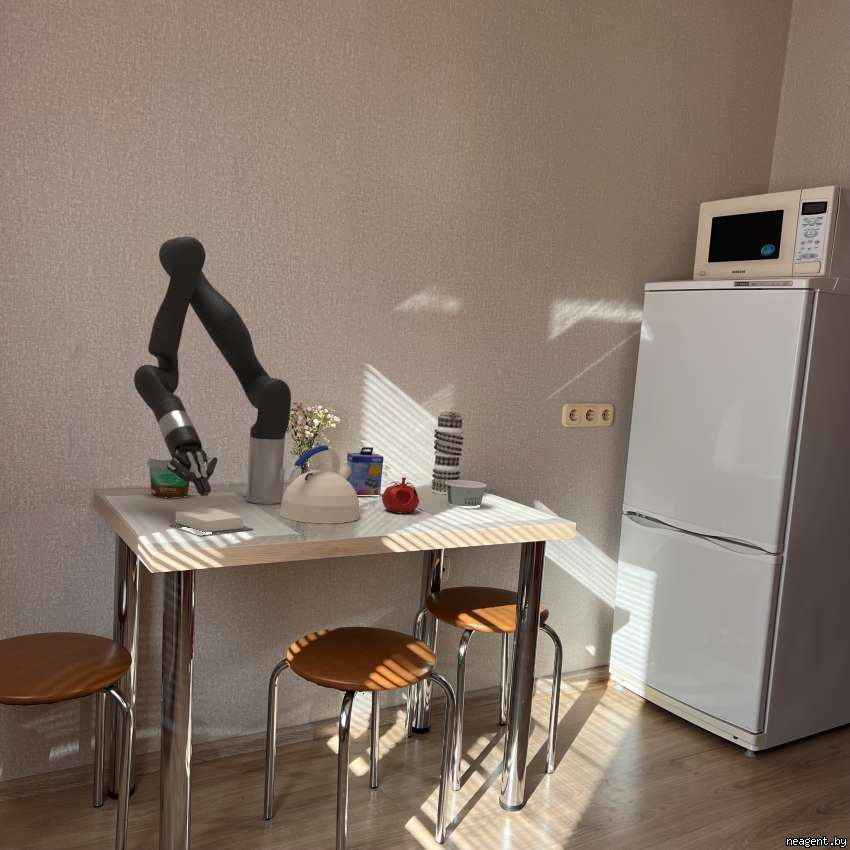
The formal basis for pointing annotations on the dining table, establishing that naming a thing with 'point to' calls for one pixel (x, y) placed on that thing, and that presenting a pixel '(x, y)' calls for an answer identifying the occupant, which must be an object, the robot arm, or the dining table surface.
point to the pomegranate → (400, 497)
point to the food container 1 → (166, 480)
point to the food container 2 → (465, 492)
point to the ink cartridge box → (365, 471)
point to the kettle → (321, 493)
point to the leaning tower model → (447, 449)
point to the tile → (209, 520)
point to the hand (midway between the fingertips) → (206, 494)
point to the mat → (219, 531)
